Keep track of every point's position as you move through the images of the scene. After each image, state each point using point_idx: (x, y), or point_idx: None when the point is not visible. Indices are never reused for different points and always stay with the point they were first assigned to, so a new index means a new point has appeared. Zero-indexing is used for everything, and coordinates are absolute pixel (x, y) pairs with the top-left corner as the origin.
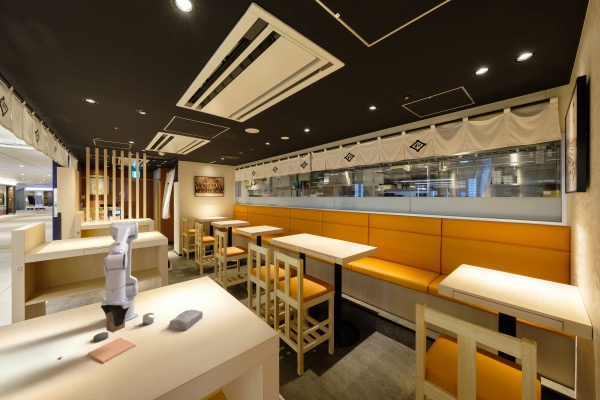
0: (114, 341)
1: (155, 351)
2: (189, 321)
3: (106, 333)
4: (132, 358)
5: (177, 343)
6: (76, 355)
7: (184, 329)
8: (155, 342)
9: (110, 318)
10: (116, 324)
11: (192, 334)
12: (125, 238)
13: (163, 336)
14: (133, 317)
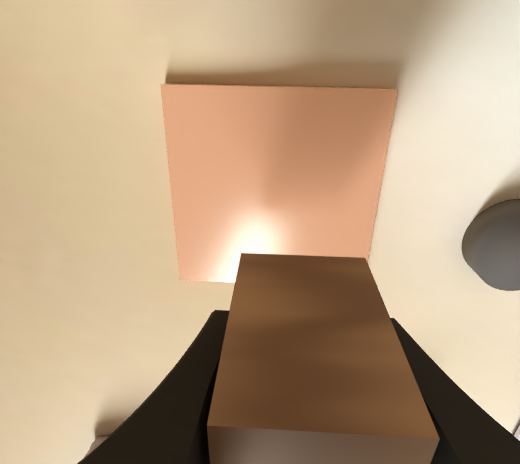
0: (349, 249)
1: (25, 283)
2: None
3: (499, 278)
4: (59, 196)
5: (9, 360)
6: (478, 41)
7: (102, 438)
8: (118, 331)
9: (287, 373)
10: (202, 329)
11: (32, 423)
12: None
13: (140, 375)
14: (515, 436)
